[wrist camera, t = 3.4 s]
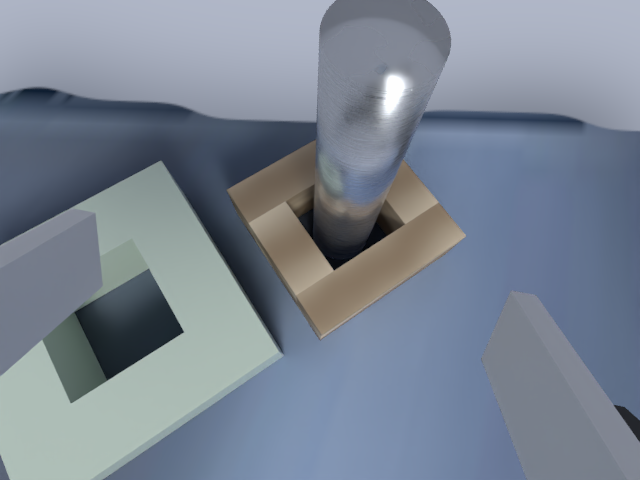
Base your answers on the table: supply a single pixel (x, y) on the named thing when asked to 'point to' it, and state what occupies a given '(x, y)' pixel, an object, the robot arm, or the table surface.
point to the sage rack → (148, 373)
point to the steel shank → (369, 109)
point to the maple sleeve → (363, 270)
